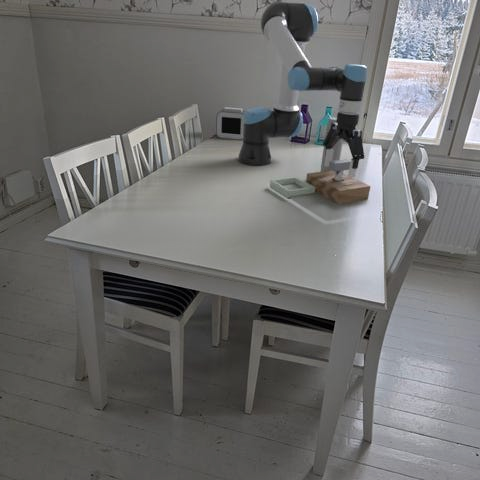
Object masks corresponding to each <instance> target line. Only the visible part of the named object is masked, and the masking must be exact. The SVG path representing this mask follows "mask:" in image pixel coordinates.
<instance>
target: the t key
mask: <svg viewBox="0 0 480 480" xmlns="http://www.w3.org/2000/svg"><path fill="white" fill-rule="evenodd" d="M350 161H351V160H349V159H340V160H337V161H330V162H329V170H331V171H333V172H335V175H334V181H336V182H339V181H342V177H343V174H344V171H349V167H350Z"/></svg>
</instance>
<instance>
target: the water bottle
mask: <svg viewBox="0 0 480 480" xmlns="http://www.w3.org/2000/svg"><path fill="white" fill-rule="evenodd" d="M336 120H337V116H336V117H335V116H332V117H331V116H330V117H329V118H328V121H327V124H326V129H324V130H325V131H326V132H325V136H324V139H325V138H326V136H327V134H328V132H329V130H330V128H331V124H332V123H337V122H336ZM343 143H344V140H343V139H340V140H339V141H338V142H337V143H336V144H335V145H334V146H333V148H331V149H334V151H333V157H332V161H337V160H341V155H342V150H343ZM325 153H326V148H325V146H323V151H322V157H321V165H320V171H319V172H323V171H331V170H329V166H324V165H325V158H326V157H325Z"/></svg>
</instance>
